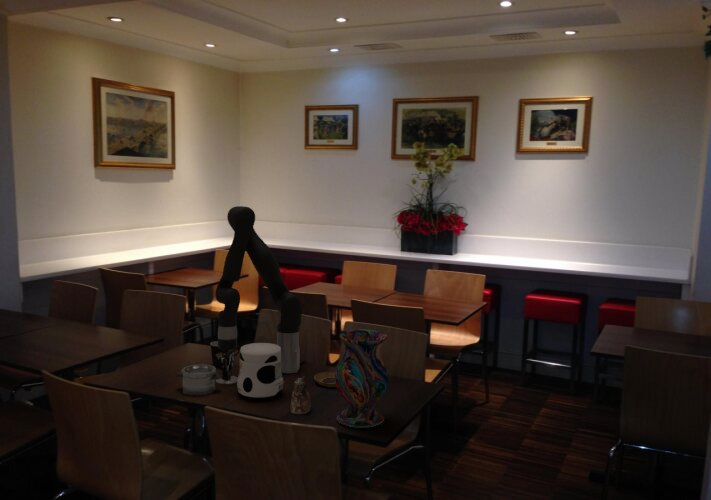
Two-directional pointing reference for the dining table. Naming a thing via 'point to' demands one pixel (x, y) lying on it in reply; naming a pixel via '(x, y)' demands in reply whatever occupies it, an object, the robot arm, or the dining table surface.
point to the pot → (199, 379)
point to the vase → (361, 377)
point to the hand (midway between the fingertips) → (227, 377)
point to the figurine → (300, 397)
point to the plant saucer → (324, 375)
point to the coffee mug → (216, 354)
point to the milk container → (260, 371)
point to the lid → (230, 379)
